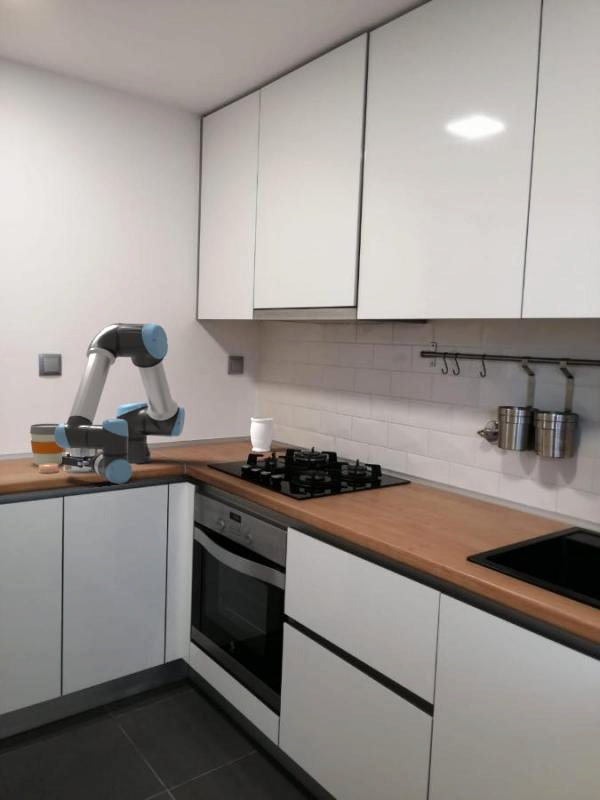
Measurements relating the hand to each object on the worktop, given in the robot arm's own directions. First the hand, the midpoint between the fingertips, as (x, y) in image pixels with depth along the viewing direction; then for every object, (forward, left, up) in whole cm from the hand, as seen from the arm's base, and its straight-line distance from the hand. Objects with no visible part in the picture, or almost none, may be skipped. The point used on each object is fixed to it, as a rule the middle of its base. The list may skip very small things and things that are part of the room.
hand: (85, 455), depth 222 cm
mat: (0, -8, -7) cm, 11 cm away
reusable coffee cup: (+7, -24, -7) cm, 26 cm away
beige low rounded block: (+11, -8, -7) cm, 15 cm away
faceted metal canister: (0, -8, -6) cm, 10 cm away
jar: (-85, -22, -7) cm, 89 cm away
